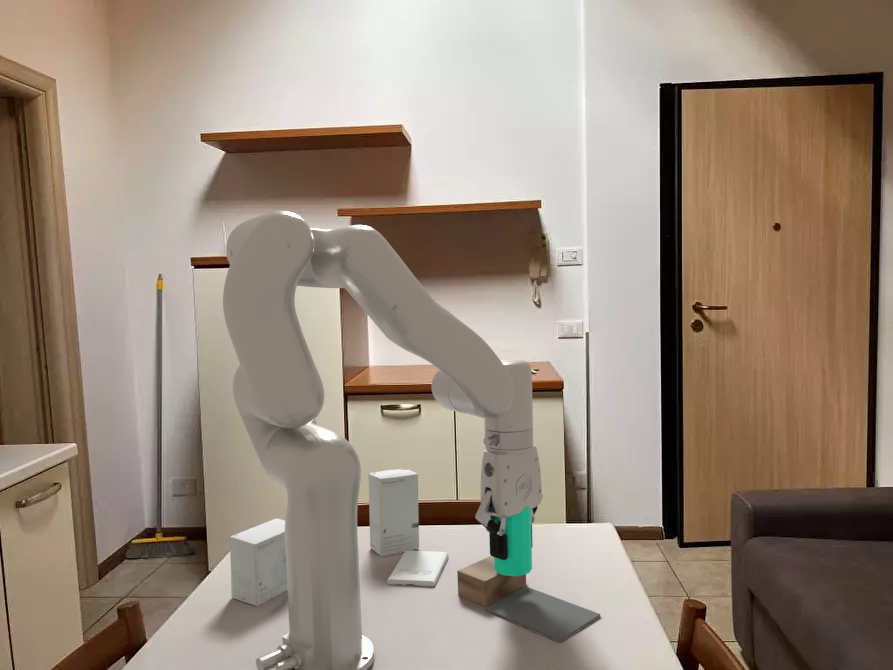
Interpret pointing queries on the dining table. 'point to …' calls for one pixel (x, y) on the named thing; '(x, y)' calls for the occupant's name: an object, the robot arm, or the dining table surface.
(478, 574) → the step block
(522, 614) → the mat
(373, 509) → the skincare box
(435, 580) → the external hard drive
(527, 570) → the candle
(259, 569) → the skincare box
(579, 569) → the dining table surface
